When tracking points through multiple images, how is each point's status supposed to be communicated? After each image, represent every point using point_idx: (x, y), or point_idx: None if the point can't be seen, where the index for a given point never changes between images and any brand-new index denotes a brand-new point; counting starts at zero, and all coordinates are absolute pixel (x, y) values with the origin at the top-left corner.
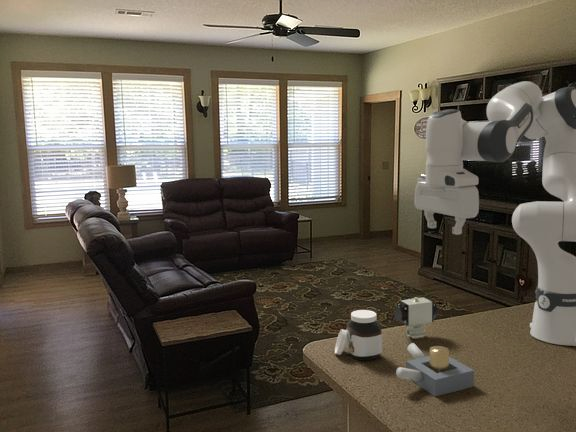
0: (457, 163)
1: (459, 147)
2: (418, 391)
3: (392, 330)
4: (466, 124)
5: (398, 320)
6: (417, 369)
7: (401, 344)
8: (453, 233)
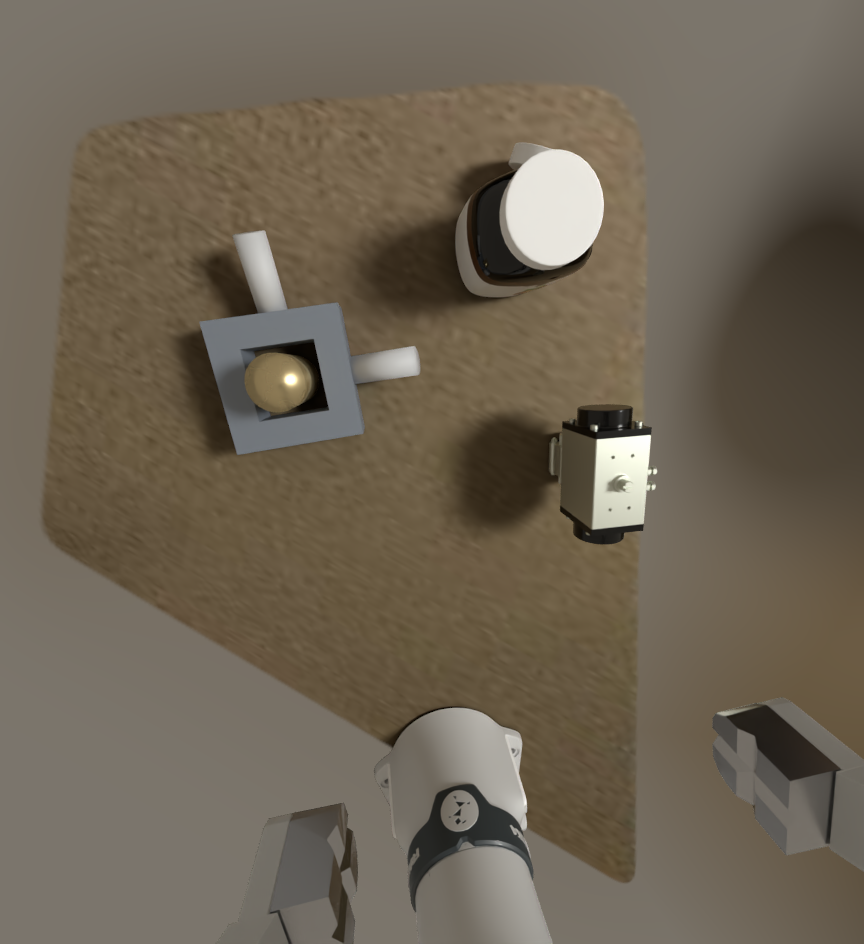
0: None
1: None
2: None
3: None
4: None
5: (591, 405)
6: (281, 310)
7: (532, 393)
8: (325, 807)
